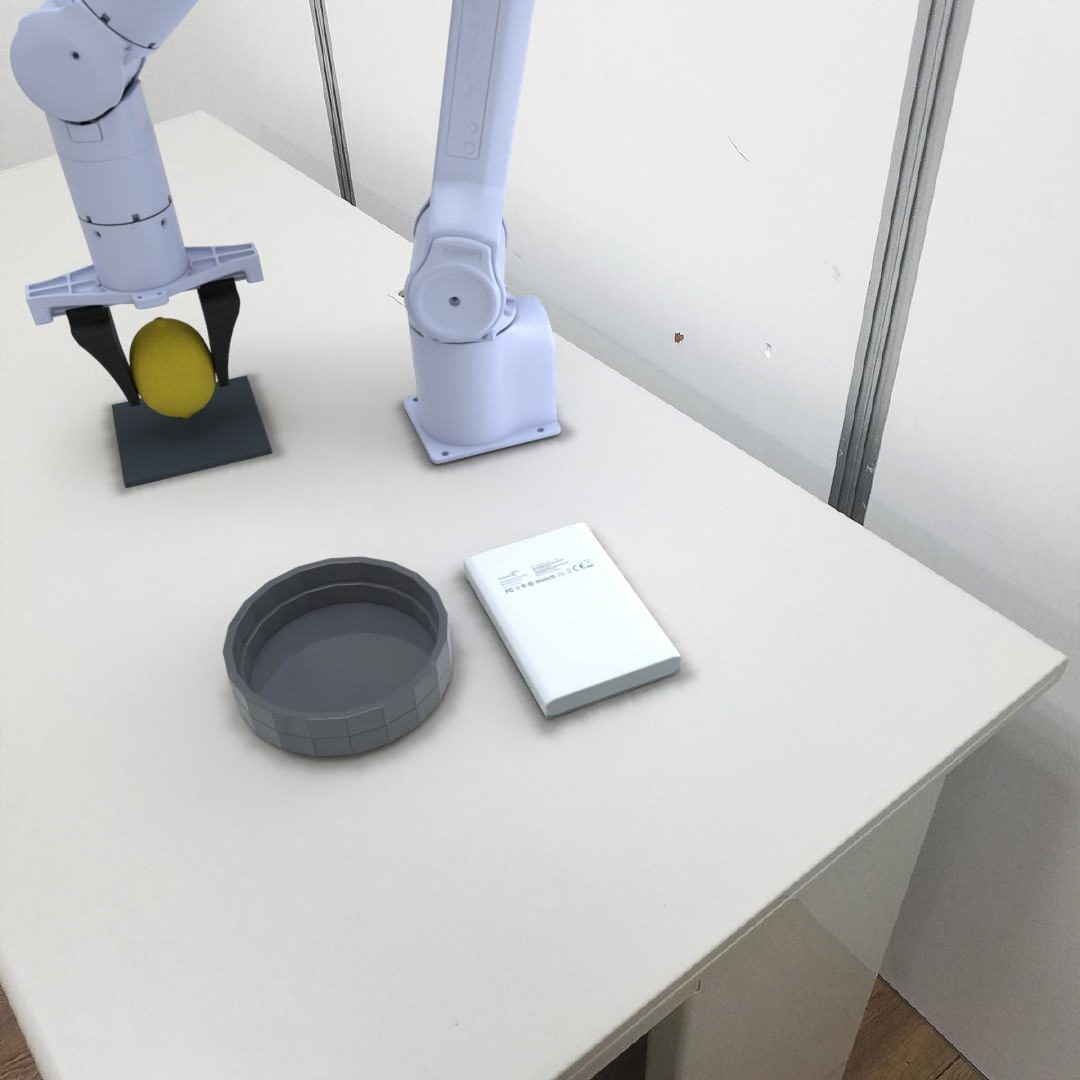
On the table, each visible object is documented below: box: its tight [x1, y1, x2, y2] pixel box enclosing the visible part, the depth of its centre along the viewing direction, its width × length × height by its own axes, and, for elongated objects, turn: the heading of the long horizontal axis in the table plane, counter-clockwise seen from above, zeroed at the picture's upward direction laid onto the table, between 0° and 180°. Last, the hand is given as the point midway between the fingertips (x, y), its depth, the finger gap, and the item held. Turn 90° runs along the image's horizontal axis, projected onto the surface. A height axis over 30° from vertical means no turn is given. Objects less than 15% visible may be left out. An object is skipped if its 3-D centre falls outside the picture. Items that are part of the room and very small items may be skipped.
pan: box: [222, 556, 453, 757], centre depth 61 cm, size 12×12×3 cm
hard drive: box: [462, 522, 682, 719], centre depth 64 cm, size 2×8×12 cm
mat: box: [111, 375, 273, 488], centre depth 80 cm, size 10×10×1 cm
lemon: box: [128, 316, 217, 419], centre depth 77 cm, size 6×6×8 cm
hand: (178, 388), depth 78 cm, fingers closed on lemon, 5 cm apart
